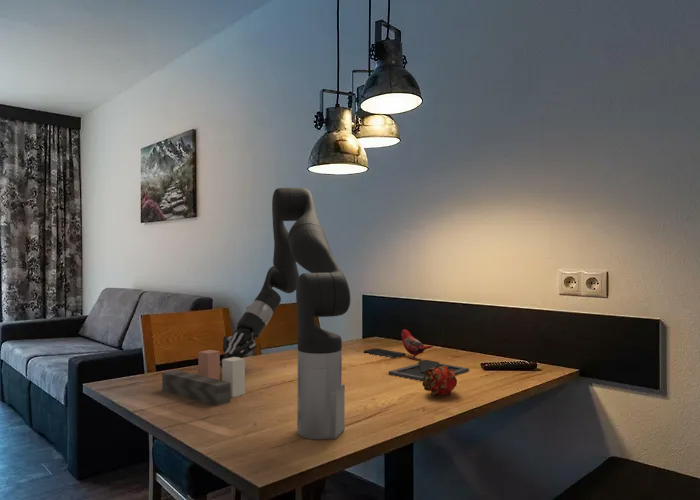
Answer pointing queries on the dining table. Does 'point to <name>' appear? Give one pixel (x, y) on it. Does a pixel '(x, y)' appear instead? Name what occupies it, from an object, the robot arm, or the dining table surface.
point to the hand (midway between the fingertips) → (222, 367)
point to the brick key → (209, 364)
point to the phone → (384, 353)
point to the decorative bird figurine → (412, 344)
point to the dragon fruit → (439, 381)
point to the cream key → (234, 375)
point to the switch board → (196, 387)
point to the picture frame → (423, 370)
